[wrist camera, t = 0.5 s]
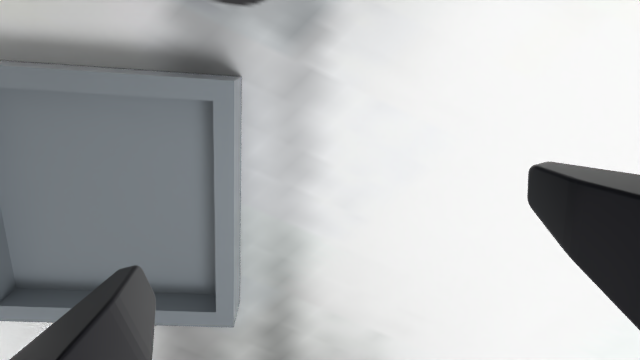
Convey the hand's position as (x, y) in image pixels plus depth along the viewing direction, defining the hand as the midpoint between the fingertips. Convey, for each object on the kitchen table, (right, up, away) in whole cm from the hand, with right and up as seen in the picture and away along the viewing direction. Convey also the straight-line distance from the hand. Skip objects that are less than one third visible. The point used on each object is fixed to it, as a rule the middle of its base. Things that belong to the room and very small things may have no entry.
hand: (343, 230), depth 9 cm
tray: (-12, 0, +14) cm, 19 cm away
